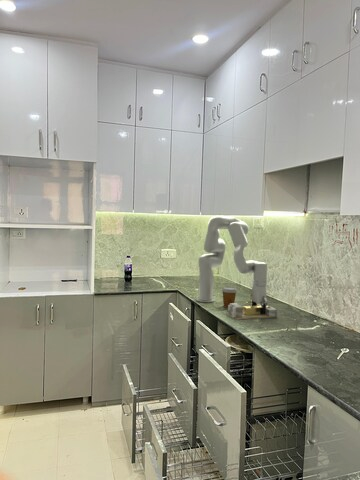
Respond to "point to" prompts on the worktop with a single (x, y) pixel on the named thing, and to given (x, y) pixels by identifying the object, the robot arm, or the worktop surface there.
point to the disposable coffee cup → (228, 295)
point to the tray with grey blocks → (237, 313)
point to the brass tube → (252, 310)
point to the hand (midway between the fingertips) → (258, 311)
